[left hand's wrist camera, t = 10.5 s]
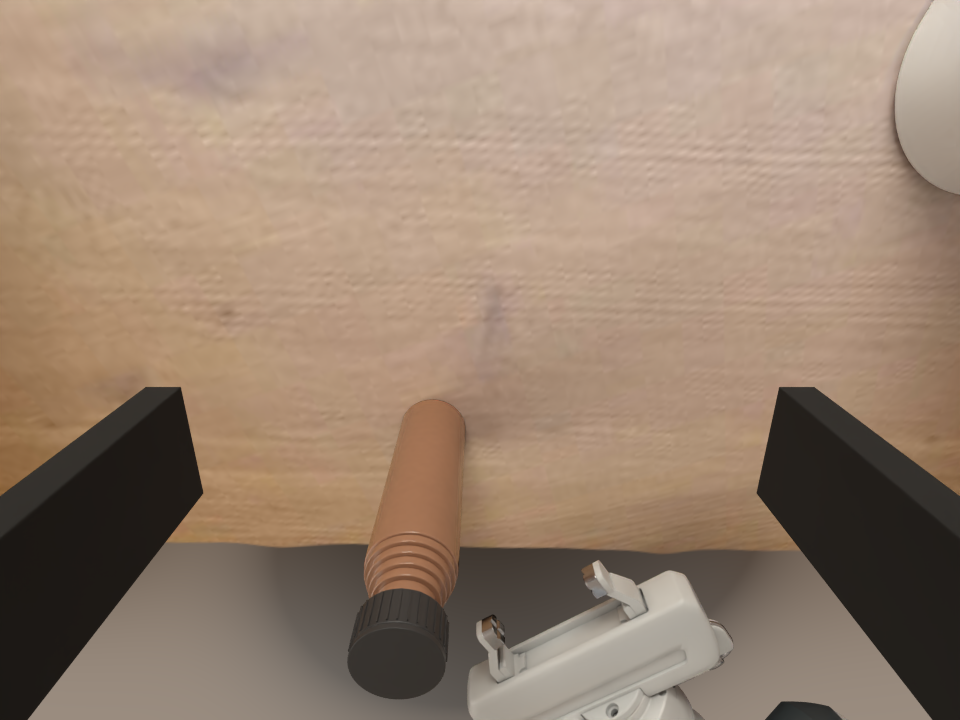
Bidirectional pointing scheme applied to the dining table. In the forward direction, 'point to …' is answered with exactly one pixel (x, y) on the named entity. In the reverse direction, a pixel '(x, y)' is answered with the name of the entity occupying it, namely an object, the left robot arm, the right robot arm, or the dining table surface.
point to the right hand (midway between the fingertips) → (536, 598)
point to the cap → (399, 644)
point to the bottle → (420, 506)
